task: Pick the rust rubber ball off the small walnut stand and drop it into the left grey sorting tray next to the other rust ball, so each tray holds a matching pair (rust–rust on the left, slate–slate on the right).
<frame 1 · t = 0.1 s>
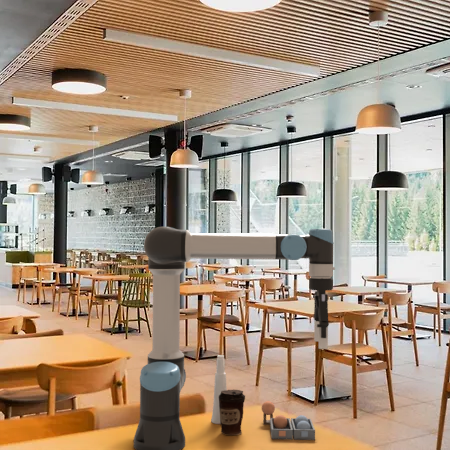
hand: (320, 344, 193), 28 cm above the table, tool pointing down, fingers open, 13 cm apart
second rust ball: (280, 422, 196), point 3 cm above the table, touching grey sorting trays
grey sorting trays: (291, 433, 193), on the table
slate ball A: (303, 428, 190), point 3 cm above the table, touching grey sorting trays
ball stand: (268, 423, 203), on the table
coffee cup: (231, 433, 193), on the table
cosmetic bottle: (220, 422, 205), on the table
rust ball: (268, 408, 204), point 5 cm above the table, touching ball stand
slate ball B: (301, 422, 196), point 3 cm above the table, touching grey sorting trays
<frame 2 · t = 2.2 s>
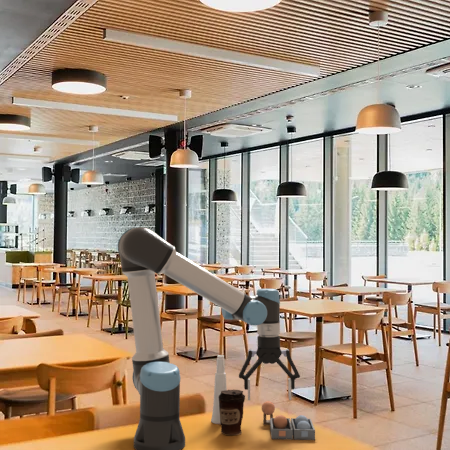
hand: (269, 399, 204), 8 cm above the table, tool pointing down, fingers open, 13 cm apart
nothing on the table moved.
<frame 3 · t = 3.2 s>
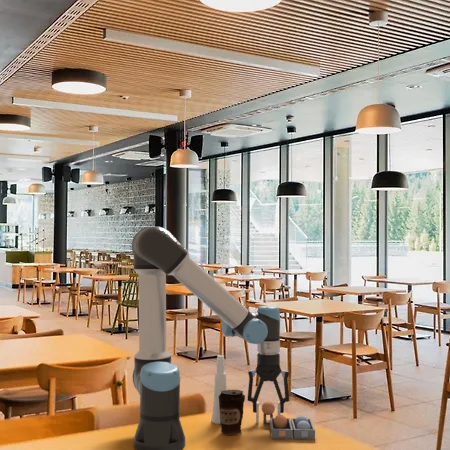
hand: (268, 422, 203), 0 cm above the table, tool pointing down, fingers open, 6 cm apart
nothing on the table moved.
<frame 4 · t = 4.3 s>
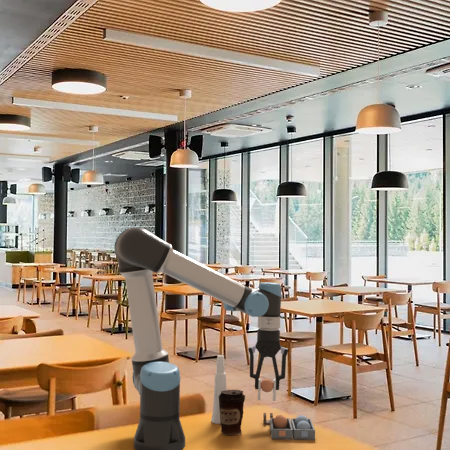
hand: (266, 399, 203), 8 cm above the table, tool pointing down, fingers closed on rust ball, 4 cm apart
rust ball: (267, 385, 204), point 13 cm above the table, touching gripper
everything else where it was.
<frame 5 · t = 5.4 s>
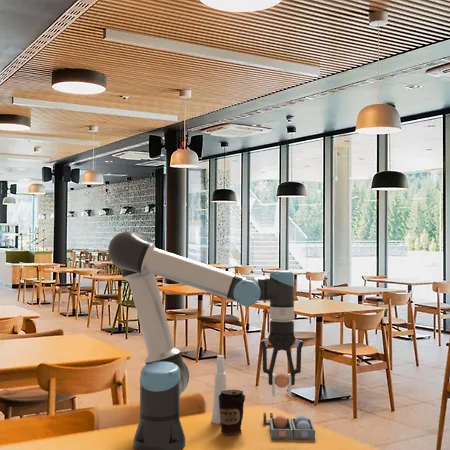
hand: (281, 395, 190), 13 cm above the table, tool pointing down, fingers closed on rust ball, 4 cm apart
rust ball: (281, 380, 191), point 17 cm above the table, touching gripper
everything else where it was.
when the fingers open (4 cm above the table, at t = 6.9 s): rust ball drops 6 cm, resting on grey sorting trays.
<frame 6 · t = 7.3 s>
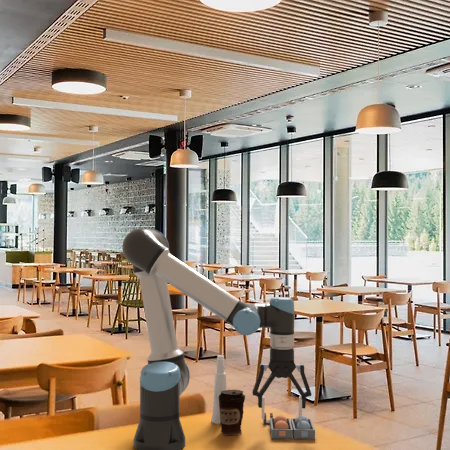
hand: (281, 418, 190), 5 cm above the table, tool pointing down, fingers open, 11 cm apart
rust ball: (281, 427, 190), point 3 cm above the table, touching grey sorting trays
everything else where it was.
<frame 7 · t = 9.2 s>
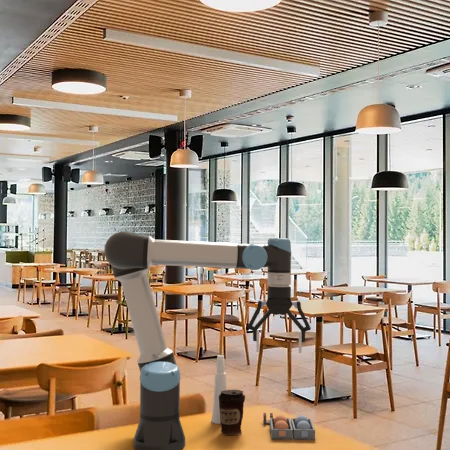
hand: (278, 351, 197), 25 cm above the table, tool pointing down, fingers open, 13 cm apart
nothing on the table moved.
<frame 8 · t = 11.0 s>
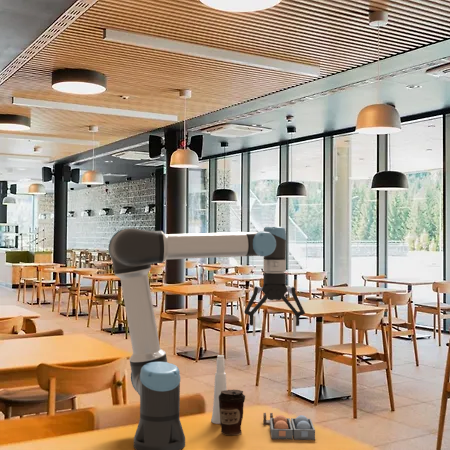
hand: (274, 335, 206), 29 cm above the table, tool pointing down, fingers open, 13 cm apart
nothing on the table moved.
at the end: rust ball inside the target area on the grey sorting trays (3.0 cm from its centre), point 2.6 cm above the grey sorting trays's base; rust ball 6.0 cm from the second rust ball (horizontally); the gripper is holding nothing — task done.
